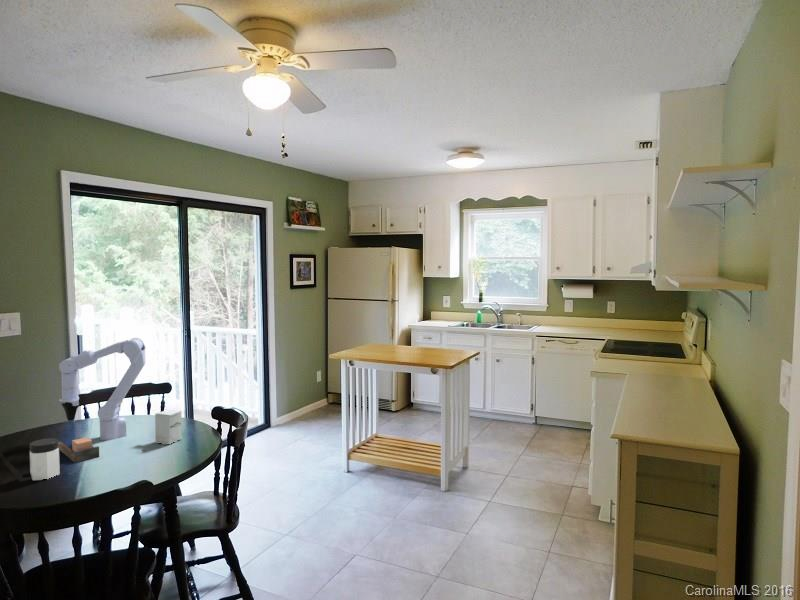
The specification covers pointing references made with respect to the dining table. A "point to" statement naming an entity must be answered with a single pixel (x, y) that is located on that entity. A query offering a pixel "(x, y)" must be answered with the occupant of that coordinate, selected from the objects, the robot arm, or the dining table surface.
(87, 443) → the terracotta block
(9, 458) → the dining table surface
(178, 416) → the supplement box
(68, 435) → the dining table surface
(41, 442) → the jar
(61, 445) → the brown wooden tray
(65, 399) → the robot arm
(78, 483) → the dining table surface
